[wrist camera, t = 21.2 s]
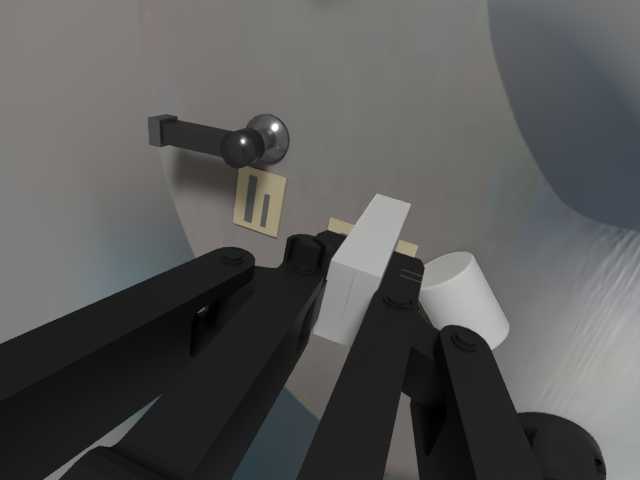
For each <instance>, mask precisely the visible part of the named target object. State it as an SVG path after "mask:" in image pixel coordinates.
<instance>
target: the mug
mask: <svg viewBox="0 0 640 480" xmlns="http://www.w3.org/2000/svg"><path fill="white" fill-rule="evenodd" d="M424 267H425V270H424V275H423V279H422V284H421V289H420V293H419V298H418V299H419V301H420V303H421V305H422V307H423V308H424V310H425V312H426V314H427V315H428V317H429V319H430V321H431V323H432V324H433V326H434V327H435V328H437V329H438V330H441V329H442V328H443V327H444V326H447V325H460V326H463V327H466V328H469V329H471V330H472V331H475V332H476V333H478V334H479V335H480V336H481V337H482V338H484V339H485V340H486V342H487V343H488V345H489V346H490V349H491V350H493V349H494V348H496V347H497V346H499V345H500V344H501V343H502V342H503V341H504V340H505V338H506V337H507V335H508V333H509V323H508V321H507V319H506V317H505V315H504V313H503V312H502V310H501V308H500V306H499V304H498V302H497V300H496V298H495V296H494V294H493V292H492V290H491V288H490V287H489V285H488V283H487V281H486V279H485V277H484V275H483V273H482V271H481V269H480V267H479V265H478V263H477V262H476V260H475V258H474V256H473V255H472V254H471V253H469V252H453V253H449V254H446V255H443V256H440V257H438V258H436V259H434V260H432V261H430V262H429V263H427V264H425V265H424Z"/></svg>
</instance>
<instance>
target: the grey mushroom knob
mask: <svg viewBox="0 0 640 480" xmlns="http://www.w3.org/2000/svg"><path fill="white" fill-rule="evenodd" d="M246 128H252V129H255V130H256V131H258V132H259V133H260V134H261V136H262V137H263V139H264V142H265V152H264V155H263V156H262V158H261V159H259V160H261V161H265V162H273V161H276V160H278V159H280V158H281V157H283V156H284V154H285V153H286V151H287V149H288V147H289V134H288V130H287V128H286V126H285V125H284V123H283V122H282V121H281V120H280V119H279V118H277V117H275V116H273V115H270V114H262V115H258V116H256V117H254V118H253V119H252V120H251V121H250V122H249V123H248V125H247V127H246Z"/></svg>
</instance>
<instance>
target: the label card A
mask: <svg viewBox="0 0 640 480" xmlns="http://www.w3.org/2000/svg"><path fill="white" fill-rule="evenodd" d="M286 182H287V178H285V177H282V176H279V175H276V174H272V173H269V172H266V171H263V170H259V169H256V168H253V167H250V166H245V167H243V168H239V172H238V182H237V191H236V200H235V210H234V219H233V223H235V224H238V225H241V226H244V227H247V228H250V229H253V230H255V231H258V232H261V233H264V234H267V235H270V236H273V237H276V238H277V236H278V230H279V224H280V218H281V212H282V206H283V200H284V194H285V188H286Z"/></svg>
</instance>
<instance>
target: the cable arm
mask: <svg viewBox="0 0 640 480" xmlns="http://www.w3.org/2000/svg"><path fill="white" fill-rule="evenodd" d="M148 130H149V144H150V145H154V146H157V147H163V146H167V145H171V146H175V147H180V148H184V149H189V150H193V151H198V152H202V153H207V154H211V155H215V156H220V157H223V159H224V161H225V162H226V163H227V164H228V165H230V166H231V167H234V168H243V167H245V166H247V165H249V164H251V163H254V162H256V161H258V160H259V159H261V158H262V156H263V155H264V152H265V142H264V139H263V137H262V136H261V134H260V133H259V132H258V131H256V130H255V129H252V128H244V129H241V130H238V131H234V132H233V131H229V130H224V129H219V128H214V127H209V126H204V125H200V124H195V123H190V122H185V121H180V120H178V118H177V116H173V115H168V114H165V115H159V116H154V117H149V118H148Z"/></svg>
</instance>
